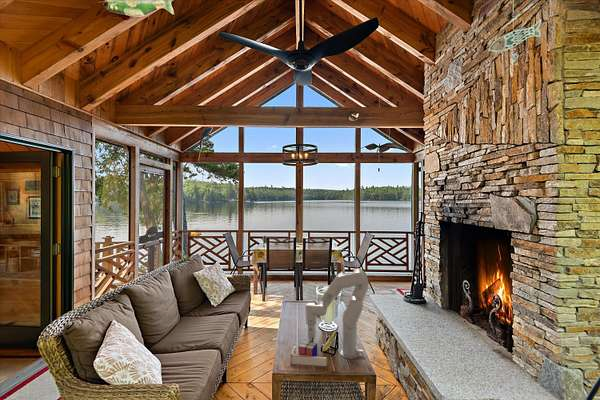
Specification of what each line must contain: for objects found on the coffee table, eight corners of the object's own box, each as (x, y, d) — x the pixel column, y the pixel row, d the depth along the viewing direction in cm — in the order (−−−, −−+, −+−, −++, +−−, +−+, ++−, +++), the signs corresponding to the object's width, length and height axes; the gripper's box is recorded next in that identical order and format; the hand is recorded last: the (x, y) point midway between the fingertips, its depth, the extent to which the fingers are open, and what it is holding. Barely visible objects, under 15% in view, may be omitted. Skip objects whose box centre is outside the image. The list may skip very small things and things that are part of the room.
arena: (327, 355, 235) (327, 347, 234) (326, 366, 220) (326, 357, 220) (293, 352, 238) (293, 345, 238) (290, 363, 223) (290, 355, 223)
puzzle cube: (312, 364, 222) (312, 349, 222) (298, 361, 226) (298, 346, 226) (317, 357, 232) (317, 342, 231) (303, 354, 235) (303, 340, 235)
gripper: (315, 325, 232) (316, 352, 232) (317, 317, 246) (317, 342, 247) (304, 325, 233) (305, 351, 233) (307, 317, 247) (307, 342, 248)
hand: (311, 346), depth 240 cm, fingers closed
